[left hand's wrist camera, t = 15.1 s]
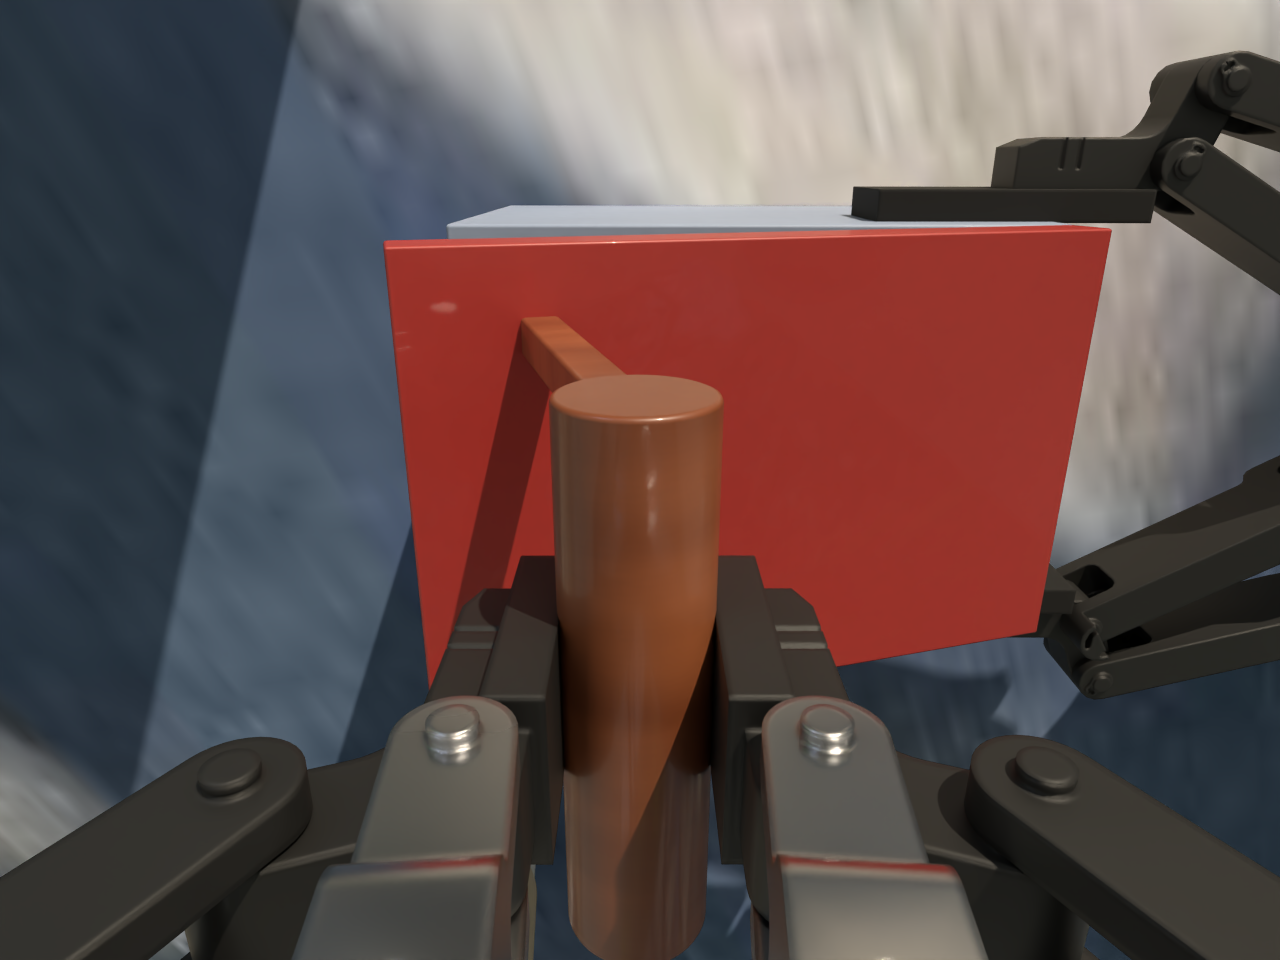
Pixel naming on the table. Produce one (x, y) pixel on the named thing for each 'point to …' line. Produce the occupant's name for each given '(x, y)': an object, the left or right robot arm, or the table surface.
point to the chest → (677, 221)
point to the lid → (730, 478)
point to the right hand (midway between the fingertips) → (846, 406)
